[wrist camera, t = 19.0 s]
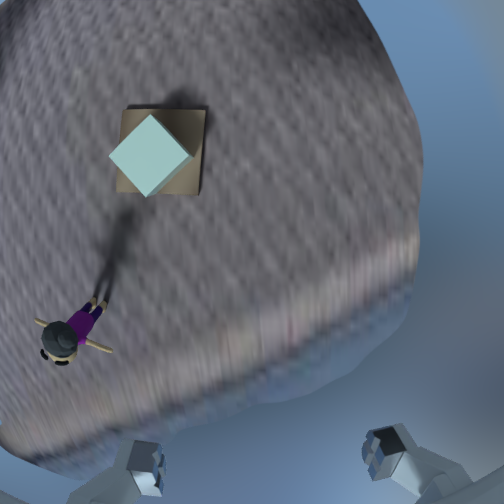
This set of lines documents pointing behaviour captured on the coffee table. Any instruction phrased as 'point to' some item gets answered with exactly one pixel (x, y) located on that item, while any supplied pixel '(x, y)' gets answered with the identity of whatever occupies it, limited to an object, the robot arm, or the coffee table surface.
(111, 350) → the toy
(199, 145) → the stand
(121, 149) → the pale aqua cube
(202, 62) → the coffee table surface
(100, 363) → the coffee table surface
